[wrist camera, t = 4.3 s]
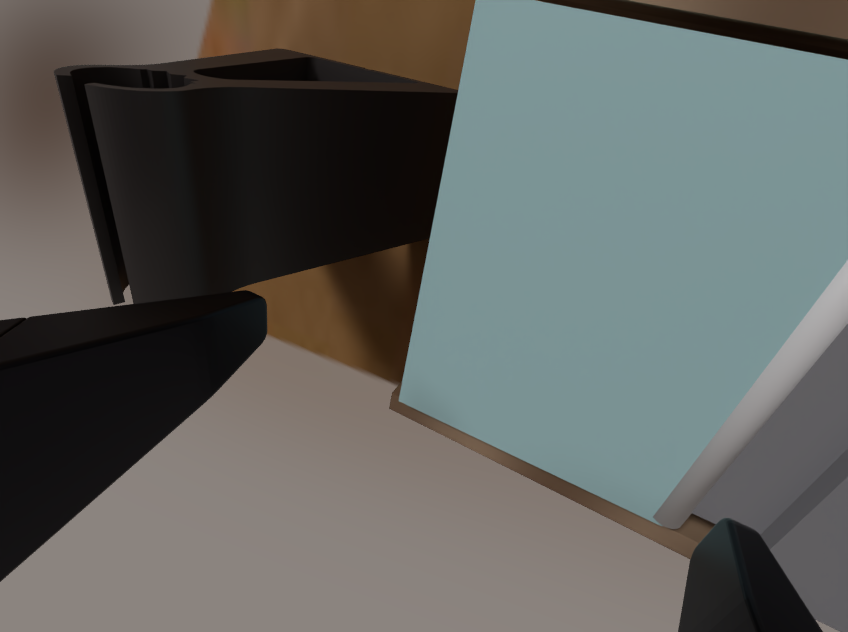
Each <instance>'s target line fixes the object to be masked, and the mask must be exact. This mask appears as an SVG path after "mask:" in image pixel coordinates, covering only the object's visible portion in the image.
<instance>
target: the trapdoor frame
mask: <svg viewBox="0 0 848 632" xmlns="http://www.w3.org/2000/svg"><path fill="white" fill-rule="evenodd" d="M540 1H542V2H546V3H551V4H556V5H562V6H567V7H572V8H578V9H583V10H588V11H594V12H599V13H604V14H609V15H615V16H620V17H625V18H631V19H636V20H641V21H647V22H652V23H657V24H662V25H668V26H673V27H678V28H684V29H689V30H694V31H700V32H705V33H710V34H716V35H721V36H726V37H731V38H737V39H742V40H747V41H753V42H758V43H763V44H769V45H774V46H779V47H784V48H790V49H795V50H800V51H806V52H811V53H816V54H822V55H827V56H832V57H838V58H843V59H848V0H540ZM401 386H402V382H401V383H400V384H399V386H398V387H397V388H396V389H395V390H394V392H393V393H392V396H391V402H390V407H389V408H390V409H391V410H393V411H395V412H397V413H400V414H402V415H403V416H405V417H407V418H409V419H411V420H413V421H415V422H417V423H419V424H421V425H423V426H425V427H427V428H429V429H431V430H434V431H435V432H437V433H439V434H441V435H444V436H445V437H447V438H449V439H451V440H453V441H455V442H458V443H459V444H461V445H463V446H465V447H467V448H469V449H471V450H473V451H475V452H477V453H479V454H481V455H483V456H485V457H487V458H489V459H491V460H493V461H495V462H497V463H499V464H501V465H503V466H505V467H507V468H509V469H511V470H513V471H515V472H517V473H519V474H521V475H523V476H525V477H527V478H529V479H531V480H533V481H535V482H537V483H539V484H541V485H543V486H545V487H547V488H549V489H551V490H553V491H555V492H557V493H559V494H561V495H563V496H565V497H567V498H569V499H571V500H573V501H575V502H577V503H579V504H581V505H583V506H585V507H587V508H589V509H591V510H593V511H595V512H597V513H599V514H601V515H603V516H605V517H607V518H609V519H611V520H613V521H615V522H617V523H619V524H621V525H623V526H625V527H627V528H629V529H631V530H633V531H635V532H637V533H639V534H641V535H643V536H645V537H647V538H649V539H651V540H653V541H655V542H657V543H659V544H661V545H663V546H665V547H667V548H669V549H671V550H673V551H675V552H677V553H679V554H681V555H683V556H685V557H687V558H689V559H691V556H692V554H693V551H694V550H695V548H696V546H697V545H698V544H699V543H700V542H701V541H702V540H703V538H704V537H705V536H706V535H707V534H708V533H709V532H710V531H711V529H712V528H713V527H714V526H715V525H716V524H714V523H712V522H710V521H708V520H705V519H703V518H701V517H699V516H697V515H695V514H691V515H690V516H689V517H688V519H687V520H686V521H685V522H684V523H683V525H682V526H681V527H680V528H678V529H670V528H667V527H665V526H660V525H658V524H656V523H654V522H651V521H649V520H647V519H645V518H643V517H641V516H639V515H637V514H635V513H633V512H630V511H628V510H626V509H624V508H622V507H620V506H618V505H616V504H614V503H612V502H609V501H607V500H605V499H603V498H601V497H599V496H597V495H595V494H593V493H591V492H588V491H586V490H584V489H582V488H580V487H578V486H576V485H574V484H572V483H570V482H567V481H565V480H563V479H561V478H559V477H557V476H555V475H553V474H551V473H549V472H546V471H544V470H542V469H540V468H538V467H536V466H534V465H532V464H530V463H528V462H525V461H523V460H521V459H519V458H517V457H515V456H513V455H511V454H509V453H507V452H504V451H502V450H500V449H498V448H496V447H494V446H492V445H490V444H488V443H486V442H483V441H481V440H479V439H477V438H475V437H473V436H471V435H469V434H467V433H465V432H462V431H460V430H458V429H456V428H454V427H452V426H450V425H448V424H446V423H444V422H441V421H439V420H437V419H435V418H433V417H431V416H429V415H427V414H425V413H423V412H420V411H418V410H416V409H414V408H412V407H410V406H408V405H406V404H404V403H402V402H399V396H400V391H401Z"/></svg>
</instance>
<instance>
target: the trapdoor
mask: <svg viewBox="0 0 848 632" xmlns="http://www.w3.org/2000/svg"><path fill="white" fill-rule="evenodd" d="M399 402H402V403H404V404H406V405H408V406H410V407H412V408H414V409H416V410H418V411H420V412H423V413H425V414H427V415H429V416H431V417H433V418H435V419H437V420H439V421H441V422H444V423H446V424H448V425H450V426H452V427H454V428H456V429H458V430H460V431H462V432H465V433H467V434H469V435H471V436H473V437H475V438H477V439H479V440H481V441H483V442H486V443H488V444H490V445H492V446H494V447H496V448H498V449H500V450H502V451H504V452H507V453H509V454H511V455H513V456H515V457H517V458H519V459H521V460H523V461H525V462H528V463H530V464H532V465H534V466H536V467H538V468H540V469H542V470H544V471H546V472H549V473H551V474H553V475H555V476H557V477H559V478H561V479H563V480H565V481H567V482H570V483H572V484H574V485H576V486H578V487H580V488H582V489H584V490H586V491H588V492H591V493H593V494H595V495H597V496H599V497H601V498H603V499H605V500H607V501H609V502H612V503H614V504H616V505H618V506H620V507H622V508H624V509H626V510H628V511H630V512H633V513H635V514H637V515H639V516H641V517H643V518H645V519H647V520H649V521H651V522H654V523H656V524H658V525H660V526H665V527H667V528H670V529H678V528H680V527H681V526H682V525H683V523H684V522H685V521H686V520H687V519H688V517H689V516H690V515H691V514H695V515H697V516H699V517H701V518H703V519H705V520H708V521H710V522H712V523H714V524H717V523H718V522H719V521H720V520H721V519H723V518H731V519H733V520H735V521H737V522H740V523H742V524H744V525H746V526H748V527H750V528H752V529H754V530H756V531H757V532H758V533H759V534H760V535H761V537H762V538H763V540H764V541H765V543H766V544H767V546H768V547H769V549H770V551H771V552H772V554H773V555H774V557H775V558H776V560H777V561H778V563H779V565H780V566H781V568H782V569H783V571H784V572H785V574H786V575H787V577H788V579H789V580H790V582H791V583H792V585H793V586H794V588H795V589H796V591H797V593H798V594H799V596H800V597H801V599H802V600H803V602H804V603H805V605H806V606H807V608H808V610H809V611H810V613H811V614H812V616H813V617H814V619H815V620H818V621H819V622H822V623H824V624H826V625H828V626H830V627H832V628H834V629H836V630H838V631H840V632H848V60H846V59H841V58H836V57H830V56H825V55H820V54H815V53H809V52H804V51H799V50H793V49H788V48H783V47H778V46H772V45H767V44H762V43H757V42H751V41H746V40H741V39H735V38H730V37H725V36H720V35H714V34H709V33H704V32H698V31H693V30H688V29H683V28H677V27H672V26H667V25H662V24H656V23H651V22H646V21H640V20H635V19H630V18H625V17H619V16H614V15H609V14H603V13H598V12H593V11H588V10H582V9H577V8H572V7H567V6H561V5H556V4H551V3H545V2H540V1H535V0H476V2H475V7H474V12H473V17H472V23H471V28H470V33H469V38H468V43H467V48H466V54H465V59H464V64H463V69H462V74H461V80H460V85H459V90H458V95H457V100H456V106H455V111H454V116H453V121H452V126H451V131H450V137H449V142H448V147H447V152H446V157H445V163H444V168H443V173H442V178H441V183H440V189H439V194H438V199H437V204H436V209H435V214H434V220H433V225H432V230H431V235H430V240H429V246H428V251H427V256H426V261H425V266H424V271H423V277H422V282H421V287H420V292H419V297H418V303H417V308H416V313H415V318H414V323H413V329H412V334H411V339H410V344H409V349H408V354H407V360H406V365H405V370H404V375H403V380H402V386H401V391H400V396H399Z"/></svg>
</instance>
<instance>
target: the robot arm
mask: <svg viewBox="0 0 848 632" xmlns="http://www.w3.org/2000/svg"><path fill="white" fill-rule="evenodd" d="M266 335H267V304H266V301H265V299H264V298H263V297H261V296H259V295H257V294H255V293H252V292H250V291H246V290H245V291H236V292H227V293H219V294H211V295H203V296H195V297H187V298H179V299H171V300H163V301H154V302H146V303H138V304H130V305H122V306H115V307H106V308H98V309H90V310H81V311H74V312H65V313H57V314H49V315H42V316H33V317H29V318H27V319H26V318H16V319H8V320H0V582H1V581H2V580H3V579H4V578H5V577H6V576H8V575H9V574H10V573H11V572H12V571H13V570H14V569H16V568H17V567H18V566H19V565H20V564H21V563H22V562H23V561H25V560H26V559H27V558H28V557H29V556H30V555H32V554H33V553H34V552H35V551H36V550H37V549H38V548H40V547H41V546H42V545H43V544H44V543H45V542H46V541H48V540H49V539H50V538H51V537H52V536H53V535H54V534H56V533H57V532H58V531H59V530H60V529H61V528H62V527H64V526H65V525H66V524H67V523H68V522H69V521H70V520H72V519H73V518H74V517H75V516H76V515H77V514H78V513H79V512H81V511H82V510H83V509H84V508H85V507H86V506H88V505H89V504H90V503H91V502H92V501H93V500H94V499H95V498H97V497H98V496H99V495H100V494H101V493H102V492H103V491H105V490H106V489H107V488H108V487H109V486H110V485H112V484H113V483H114V482H115V481H116V480H117V479H118V478H119V477H121V476H122V475H123V474H124V473H125V472H126V471H127V470H129V469H130V468H131V467H132V466H133V465H134V464H136V463H137V462H138V461H139V460H140V459H141V458H142V457H144V456H145V455H146V454H147V453H148V452H149V451H150V450H152V449H153V448H154V447H155V446H156V445H157V444H158V443H160V442H161V441H162V440H163V439H164V438H165V437H166V436H168V434H170V433H171V432H172V431H173V430H174V429H175V428H177V427H178V426H179V425H180V424H181V423H182V422H184V420H186V419H187V418H188V417H189V416H190V415H191V414H193V413H194V412H195V411H196V410H197V409H198V408H200V407H201V405H203V404H204V403H205V402H206V401H207V400H208V399H209V398H211V397H212V396H213V395H214V394H215V393H216V392H217V391H218V390H219V389H220V387H222V385H223V384H224V383H225V382H226V381H227V380H228V379H229V378H230V377H231V376H232V375H233V374H234V373H235V372H236V371H237V369H238V368H239V367H240V366H241V365H242V364H243V363H244V362H245V361H246V360H247V359H248V358H249V357H250V356H251V355H252V353H253V352H254V351H255V350H256V349H257V348H258V347H259V346H260V345H261V344H262V343H263V341H264V340H265V337H266ZM678 632H823V631H822V630H821V628H820V627H819V625H818V624H817V622H816V620H815V619H814V617H813V616H812V614H811V613H810V611H809V610H808V608H807V606H806V605H805V603H804V602H803V600H802V599H801V597H800V596H799V594H798V593H797V591H796V589H795V588H794V586H793V585H792V583H791V582H790V580H789V579H788V577H787V575H786V574H785V572H784V571H783V569H782V568H781V566H780V565H779V563H778V561H777V560H776V558H775V557H774V555H773V554H772V552H771V551H770V549H769V547H768V546H767V544H766V543H765V541H764V540H763V538H762V537H761V535H760V534H759V533H758V532H757V531H756V530H754V529H752V528H750V527H748V526H746V525H744V524H742V523H740V522H737V521H735V520H733V519H731V518H723V519H721V520H720V521H719V522H718V523H717V524H716V525H715V526H714V527H713V528H712V529H711V531H710V532H709V533H708V534H707V535H706V536H705V537H704V538H703V540H702V541H701V542H700V543H699V544H698V545H697V546H696V548H695V550H694V551H693V554H692V556H691V559H690V565H689V570H688V576H687V582H686V588H685V594H684V601H683V607H682V613H681V618H680V625H679V630H678Z"/></svg>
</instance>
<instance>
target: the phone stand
mask: <svg viewBox="0 0 848 632" xmlns="http://www.w3.org/2000/svg"><path fill="white" fill-rule="evenodd" d="M54 75H55V79H56V83H57V87H58V91H59V94H60V98H61V103H62V106H63V110H64V114H65V118H66V122H67V126H68V130H69V134H70V138H71V142H72V146H73V150H74V154H75V158H76V162H77V165H78V170H79V173H80V177H81V181H82V185H83V189H84V193H85V197H86V201H87V205H88V209H89V213H90V216H91V221H92V224H93V229H94V232H95V236H96V240H97V244H98V248H99V252H100V256H101V260H102V264H103V268H104V271H105V276H106V280H107V284H108V288H109V291H110V296H111V299H112V302H113V304H114V305H115V304H119V303H122V302H125V300H124V296H123V292H124V290H125V288H126V287H127V286H128V285H130V290H131V294H132V299H133V303H134V304H138V303H146V302H154V301H163V300H171V299H179V298H187V297H195V296H203V295H211V294H219V293H227V292H232V291H234V290H236V289H239V288H241V287H244V286H247V285H250V284H254V283H257V282H261V281H265V280H269V279H273V278H277V277H281V276H284V275H288V274H292V273H296V272H300V271H304V270H308V269H312V268H316V267H319V266H323V265H327V264H331V263H335V262H339V261H343V260H347V259H351V258H354V257H358V256H362V255H366V254H370V253H374V252H378V251H382V250H386V249H389V248H393V247H397V246H401V245H405V244H409V243H413V242H417V241H421V240H424V239H428V238H430V235H431V230H432V225H433V220H434V214H435V209H436V204H437V199H438V194H439V189H440V183H441V178H442V173H443V168H444V163H445V157H446V152H447V147H448V142H449V137H450V131H451V126H452V121H453V116H454V111H455V106H456V100H457V95H458V90H455V89H451V88H447V87H442V86H438V85H434V84H430V83H426V82H421V81H417V80H413V79H409V78H405V77H400V76H396V75H392V74H388V73H384V72H379V71H375V70H368V69H365V68H362V67H358V66H354V65H350V64H346V63H341V62H337V61H333V60H329V59H325V58H320V57H316V56H312V55H308V54H303V53H299V52H295V51H291V50H286V49H270V50H262V51H255V52H247V53H239V54H231V55H224V56H216V57H208V58H200V59H192V60H185V61H177V62H169V63H161V64H151V65H76V66H67V67H62V68H58V69H56V70H55V71H54Z"/></svg>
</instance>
